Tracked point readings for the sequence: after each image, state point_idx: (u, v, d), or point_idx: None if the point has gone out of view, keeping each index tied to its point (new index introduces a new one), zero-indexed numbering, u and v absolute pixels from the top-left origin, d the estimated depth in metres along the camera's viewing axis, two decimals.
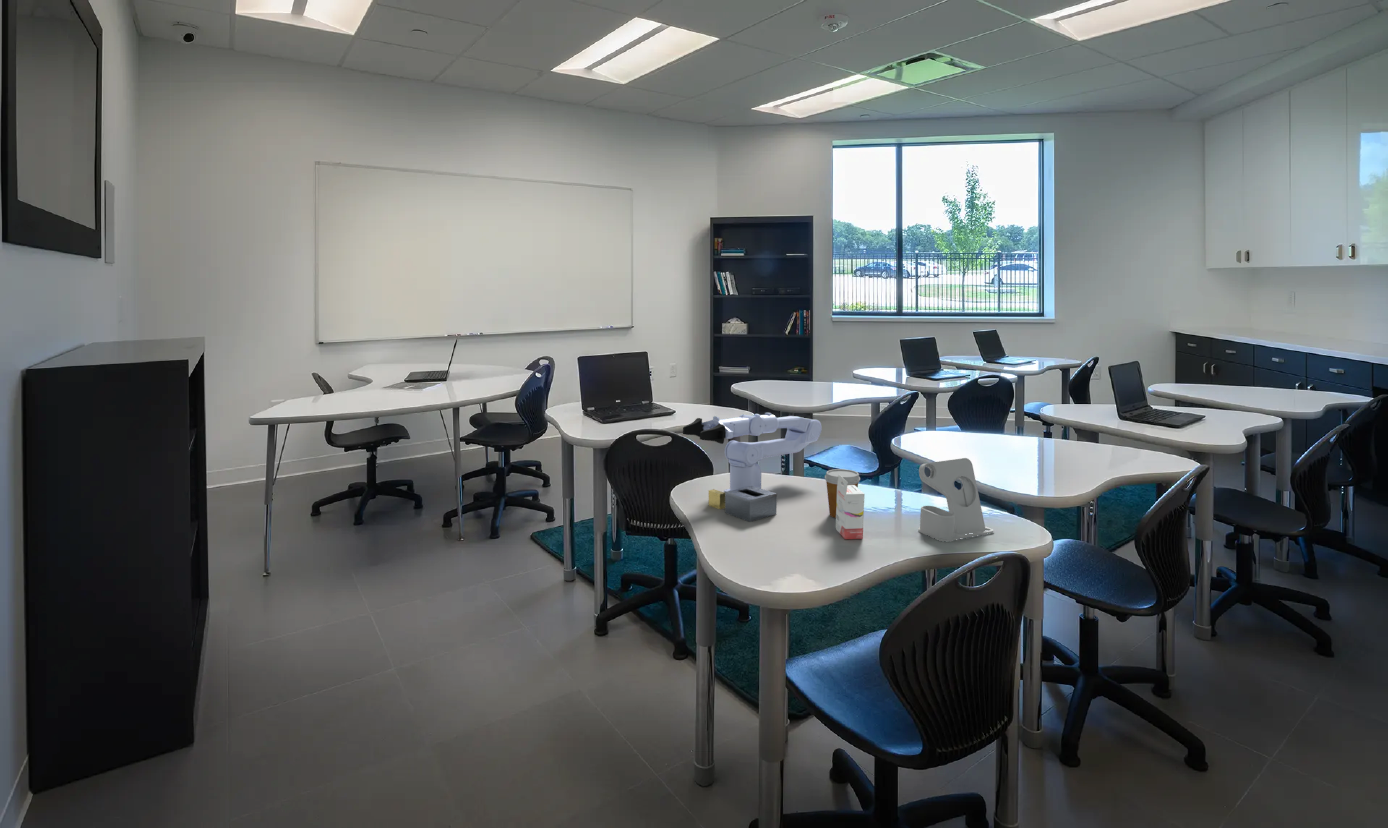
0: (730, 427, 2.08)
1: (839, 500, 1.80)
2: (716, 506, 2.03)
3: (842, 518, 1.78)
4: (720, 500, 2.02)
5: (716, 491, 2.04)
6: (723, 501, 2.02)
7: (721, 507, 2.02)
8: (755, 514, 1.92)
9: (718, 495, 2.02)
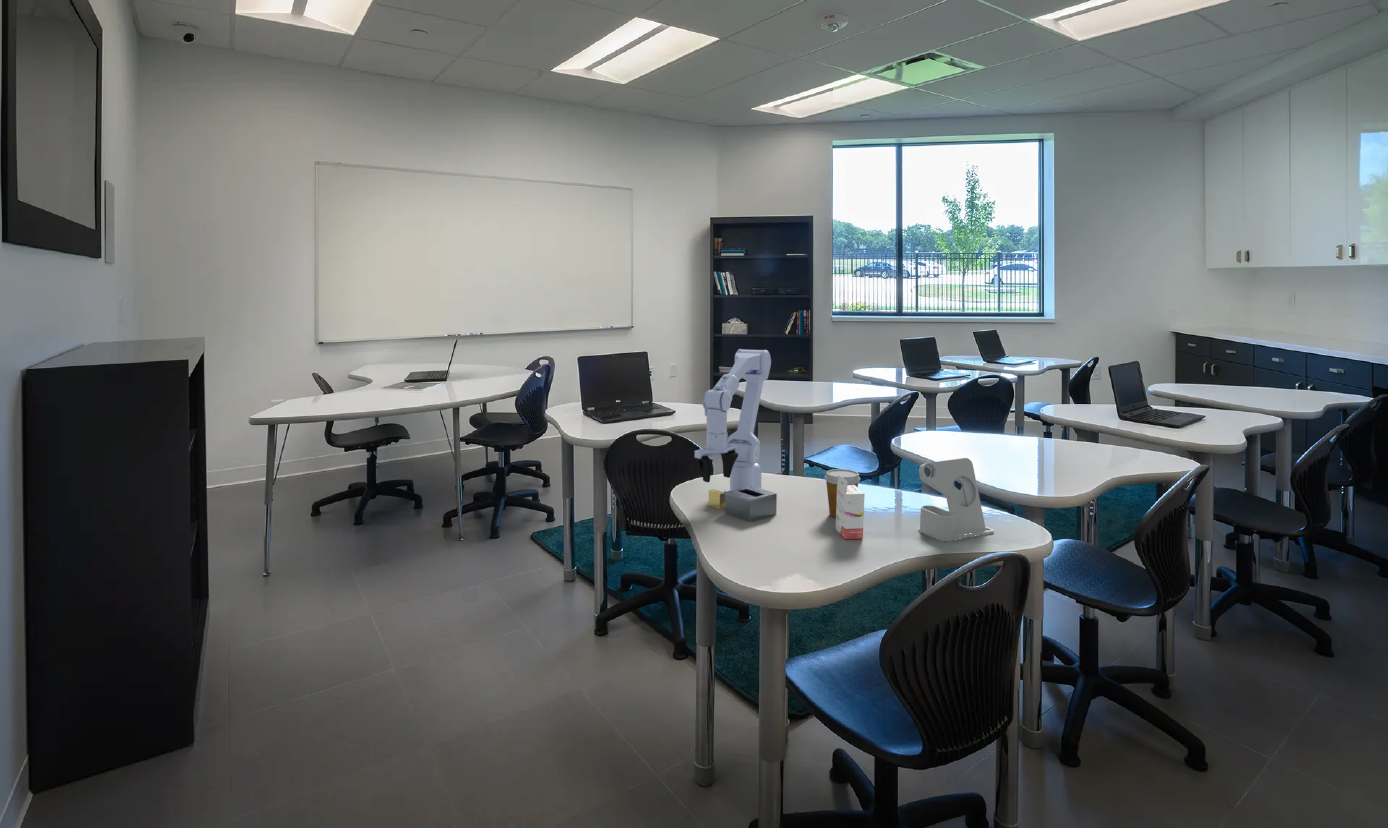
0: None
1: (839, 500, 1.80)
2: (716, 506, 2.03)
3: (842, 518, 1.78)
4: (720, 500, 2.02)
5: (716, 491, 2.04)
6: (723, 501, 2.02)
7: (721, 507, 2.02)
8: (755, 514, 1.92)
9: (718, 495, 2.02)
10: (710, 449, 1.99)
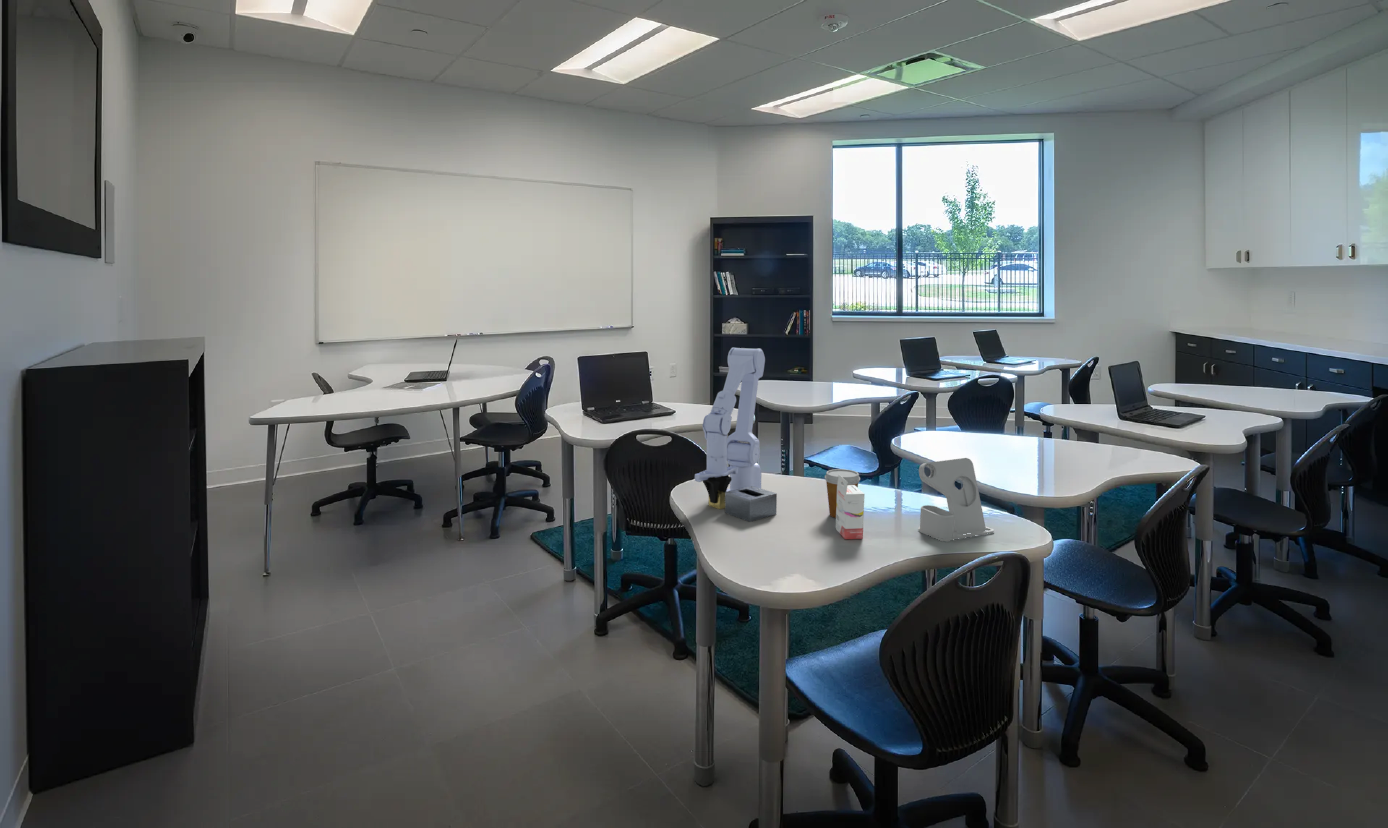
0: None
1: (839, 500, 1.80)
2: (716, 506, 2.03)
3: (842, 518, 1.78)
4: (720, 500, 2.02)
5: None
6: (723, 501, 2.02)
7: (721, 507, 2.02)
8: (755, 514, 1.92)
9: (718, 495, 2.02)
10: (710, 472, 2.00)
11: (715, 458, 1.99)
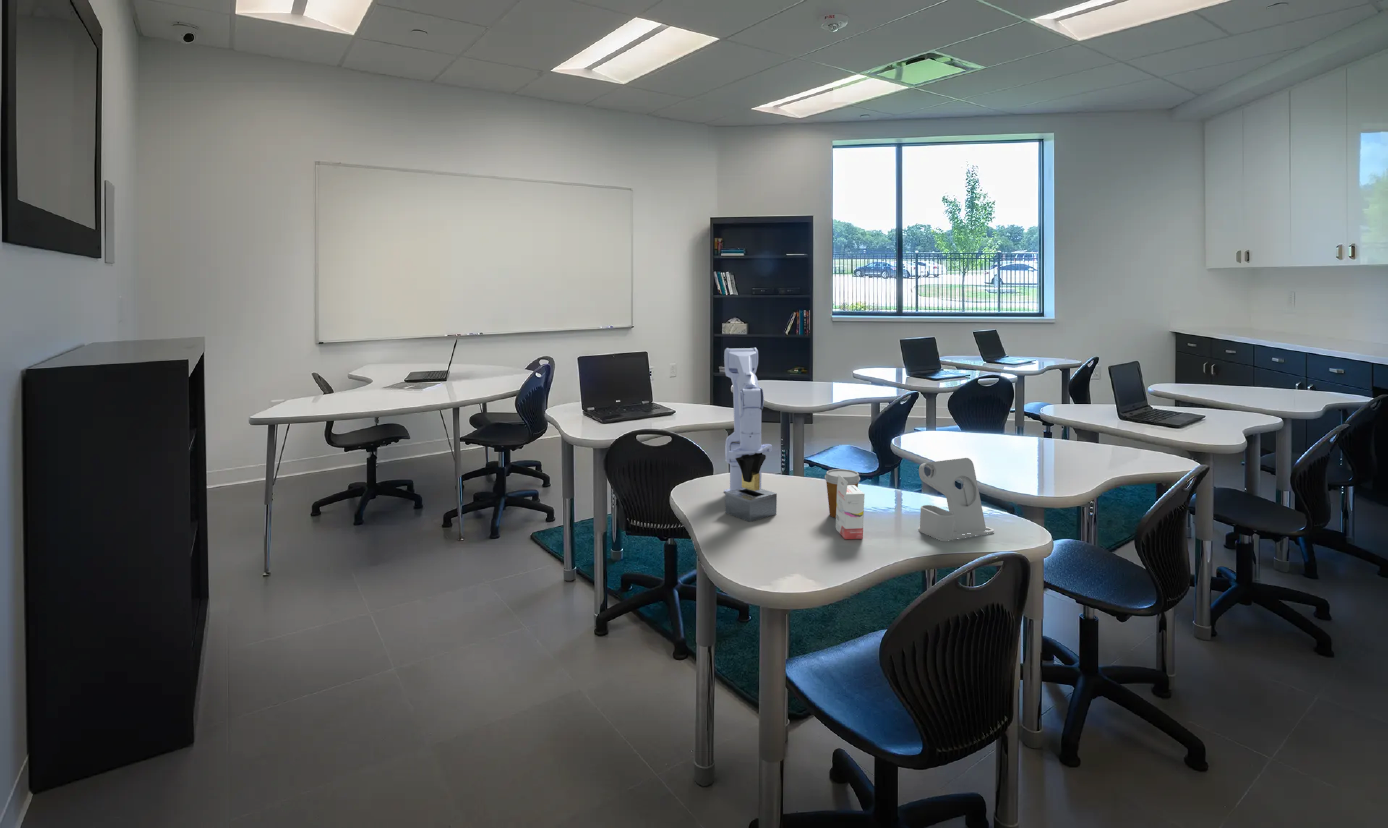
0: None
1: (839, 500, 1.80)
2: (750, 487, 1.95)
3: (842, 518, 1.78)
4: (754, 481, 1.94)
5: None
6: (757, 482, 1.94)
7: (755, 488, 1.94)
8: (755, 514, 1.92)
9: (752, 476, 1.94)
10: (744, 449, 1.92)
11: (749, 434, 1.91)
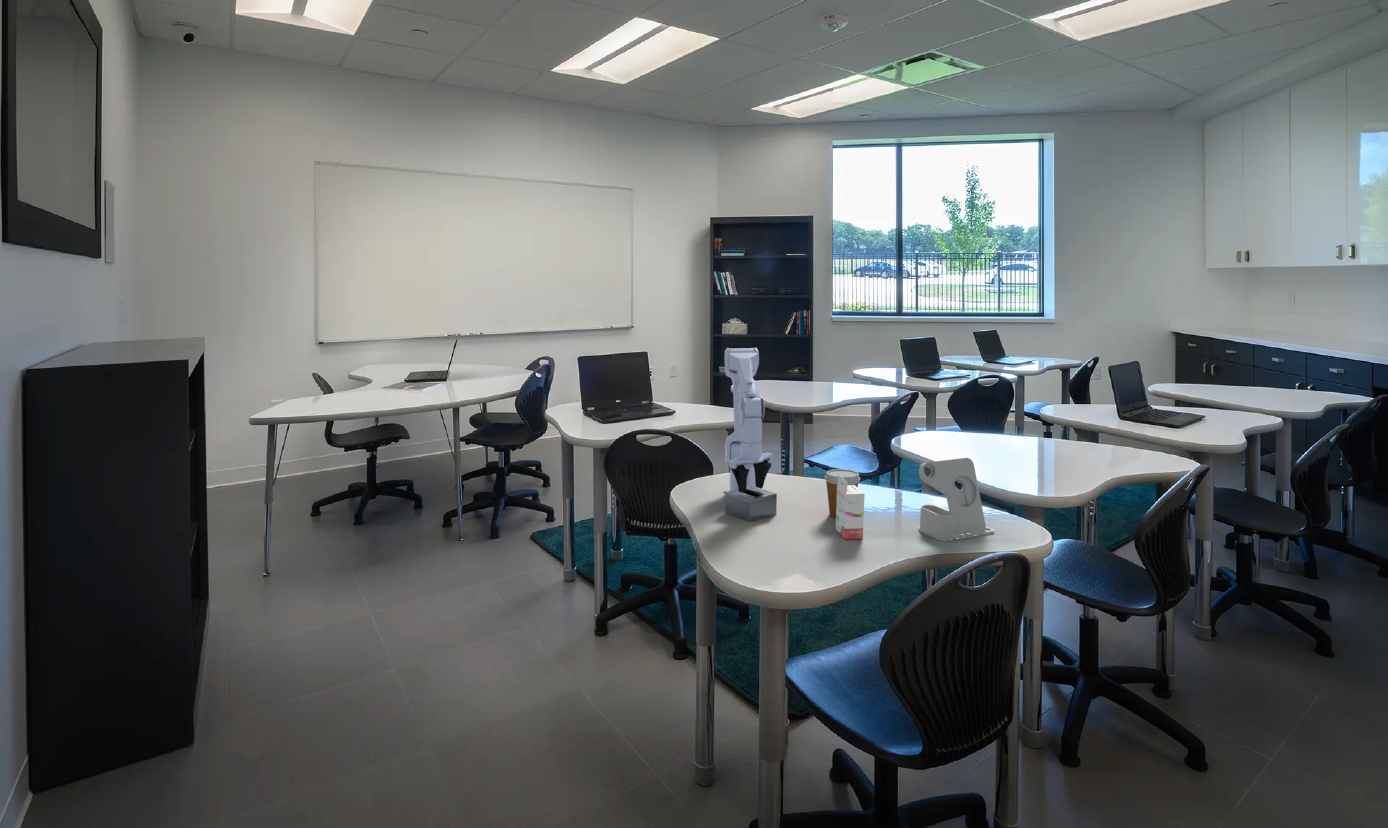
0: None
1: (839, 500, 1.80)
2: None
3: (842, 518, 1.78)
4: None
5: None
6: None
7: None
8: (755, 514, 1.92)
9: None
10: (745, 459, 1.93)
11: (750, 444, 1.91)
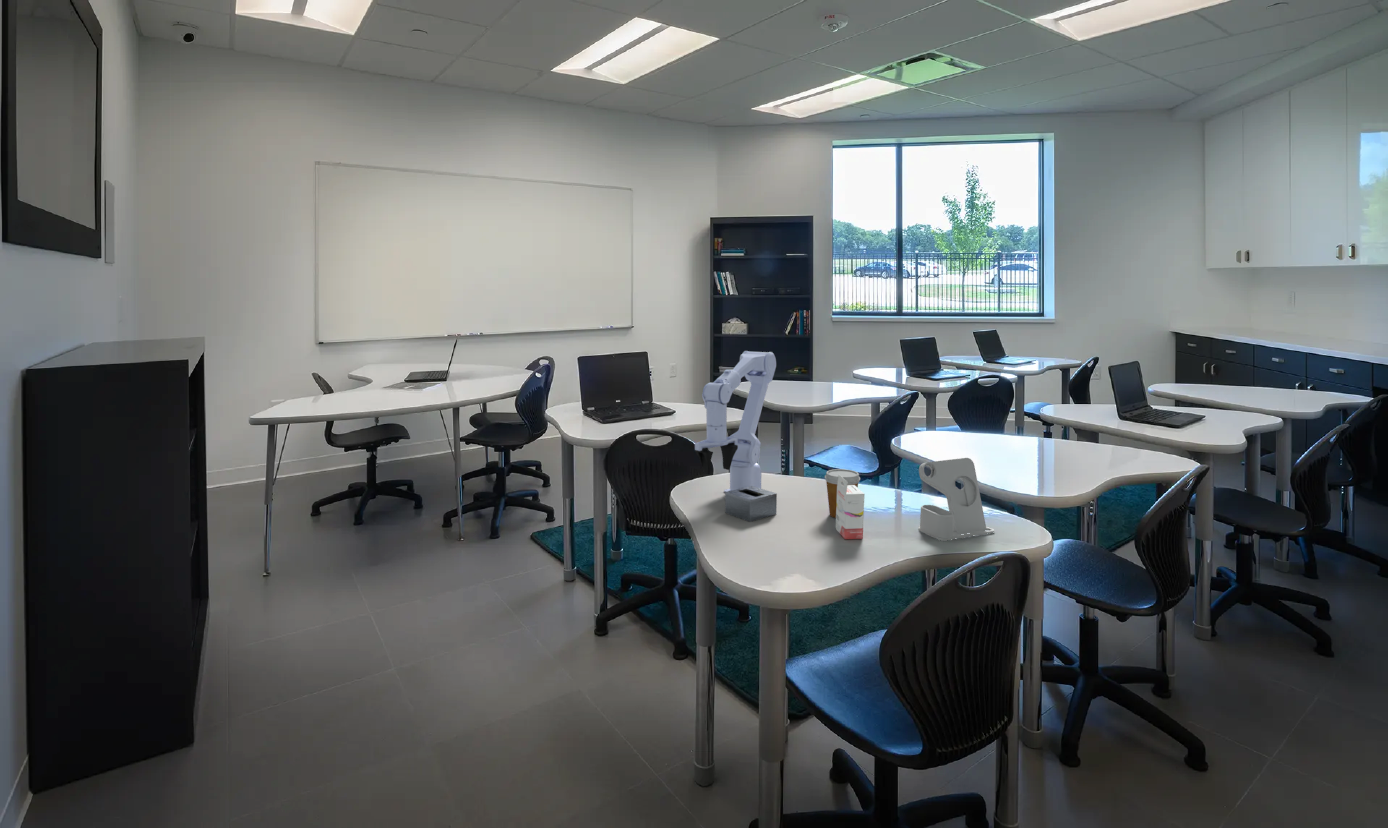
0: None
1: (839, 500, 1.80)
2: None
3: (842, 518, 1.78)
4: None
5: None
6: None
7: None
8: (755, 514, 1.92)
9: None
10: (710, 441, 2.01)
11: (715, 427, 1.99)
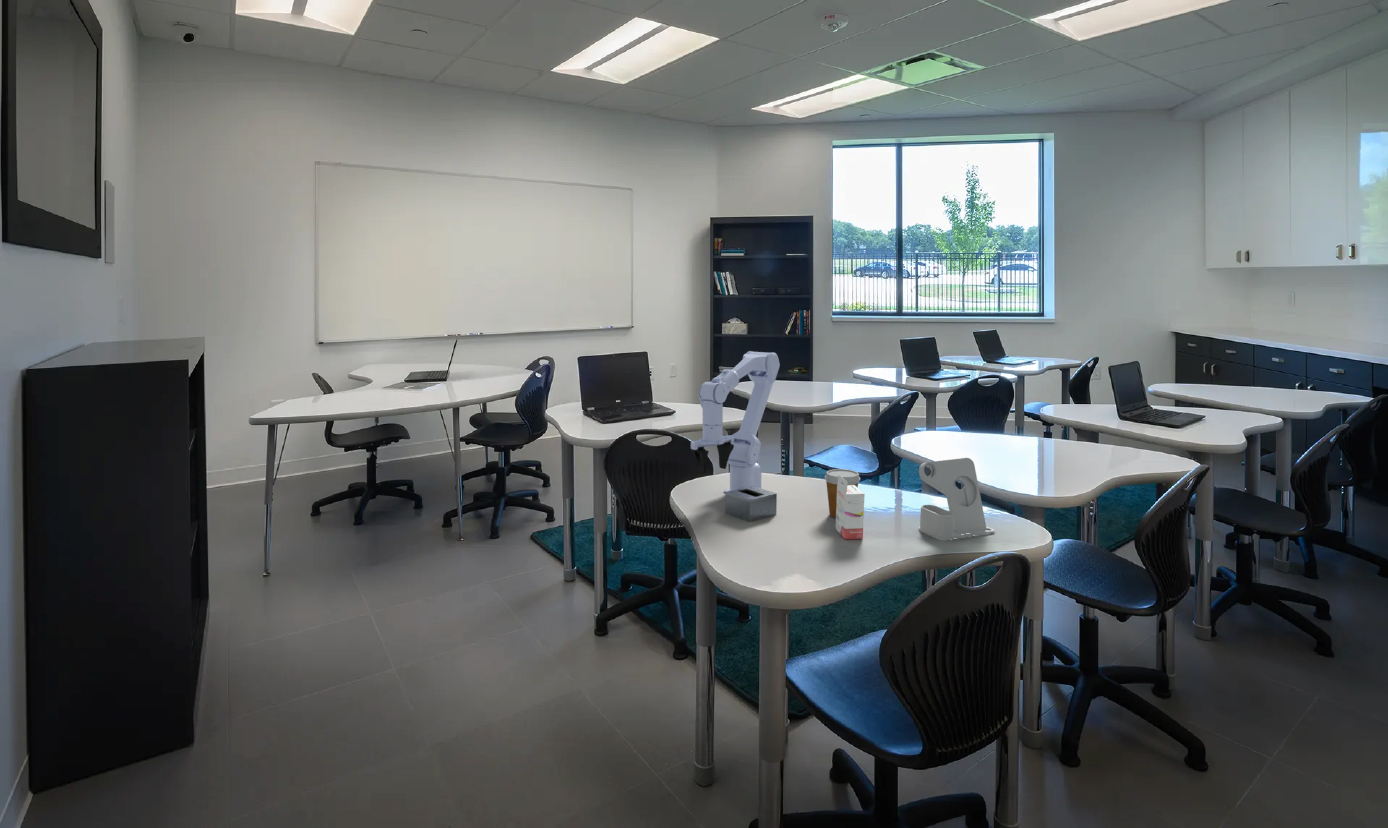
0: None
1: (839, 500, 1.80)
2: None
3: (842, 518, 1.78)
4: None
5: None
6: None
7: None
8: (755, 514, 1.92)
9: None
10: (706, 440, 2.02)
11: (711, 426, 2.00)
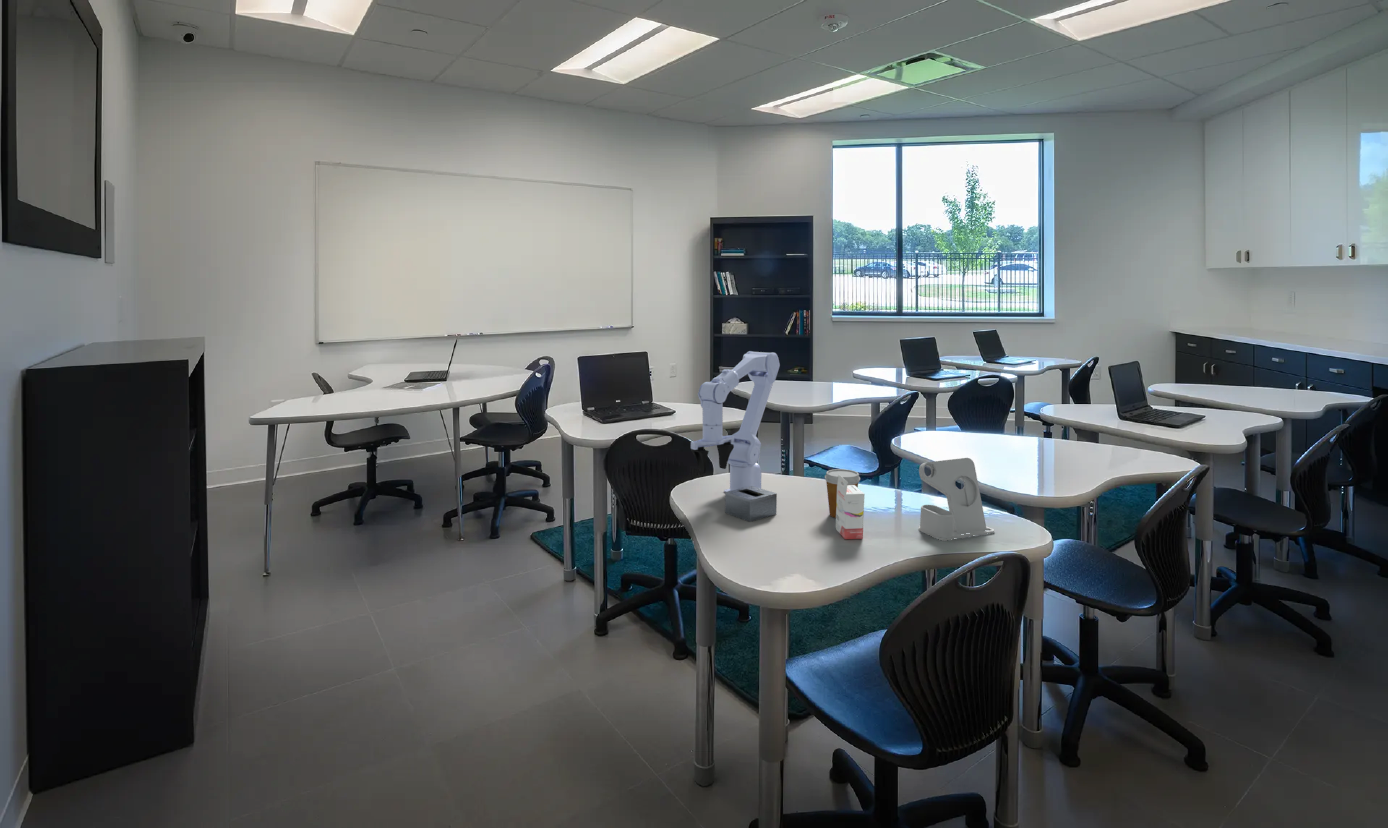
0: None
1: (839, 500, 1.80)
2: None
3: (842, 518, 1.78)
4: None
5: None
6: None
7: None
8: (755, 514, 1.92)
9: None
10: (706, 440, 2.02)
11: (711, 426, 2.00)
